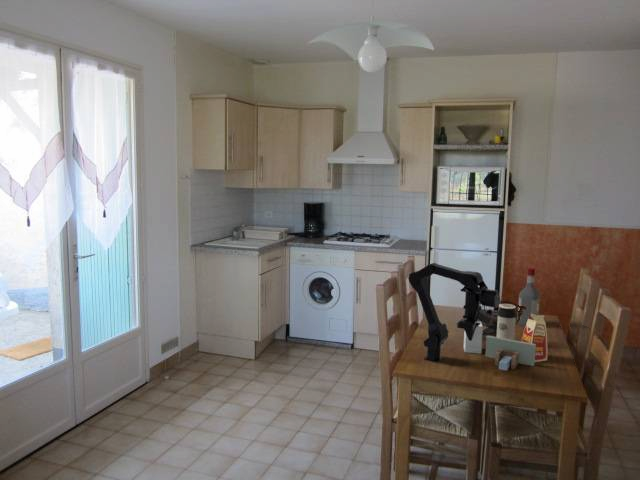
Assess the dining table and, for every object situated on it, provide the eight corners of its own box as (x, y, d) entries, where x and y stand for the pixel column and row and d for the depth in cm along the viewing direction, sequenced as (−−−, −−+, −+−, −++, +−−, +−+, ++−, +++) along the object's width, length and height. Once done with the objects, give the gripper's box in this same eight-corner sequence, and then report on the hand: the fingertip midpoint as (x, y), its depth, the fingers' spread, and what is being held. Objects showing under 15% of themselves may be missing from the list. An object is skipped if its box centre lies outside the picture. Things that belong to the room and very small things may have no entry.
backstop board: (533, 366, 218) (535, 345, 217) (485, 356, 229) (486, 336, 227) (534, 364, 220) (535, 344, 218) (486, 355, 230) (487, 335, 229)
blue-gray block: (506, 371, 213) (507, 363, 213) (498, 369, 215) (499, 362, 214) (512, 364, 220) (512, 357, 220) (504, 362, 222) (504, 355, 222)
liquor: (516, 324, 275) (519, 268, 271) (521, 320, 282) (524, 266, 278) (534, 327, 270) (538, 271, 265) (538, 323, 277) (542, 268, 273)
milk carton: (531, 362, 222) (534, 317, 219) (517, 354, 231) (520, 311, 228) (549, 360, 225) (552, 315, 222) (535, 353, 233) (538, 309, 231)
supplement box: (481, 353, 232) (483, 326, 230) (464, 352, 233) (465, 325, 231) (480, 348, 239) (481, 321, 237) (463, 347, 240) (464, 320, 239)
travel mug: (503, 338, 252) (505, 302, 250) (517, 343, 246) (520, 306, 243) (492, 341, 248) (494, 305, 245) (506, 346, 241) (509, 309, 239)
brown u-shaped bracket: (514, 369, 215) (515, 357, 214) (494, 364, 219) (495, 353, 218) (518, 363, 221) (518, 352, 220) (498, 359, 225) (499, 348, 224)
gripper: (486, 311, 199) (484, 350, 201) (498, 301, 215) (496, 337, 217) (457, 307, 205) (455, 345, 207) (471, 297, 221) (469, 333, 223)
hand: (470, 340), depth 213 cm, fingers closed
